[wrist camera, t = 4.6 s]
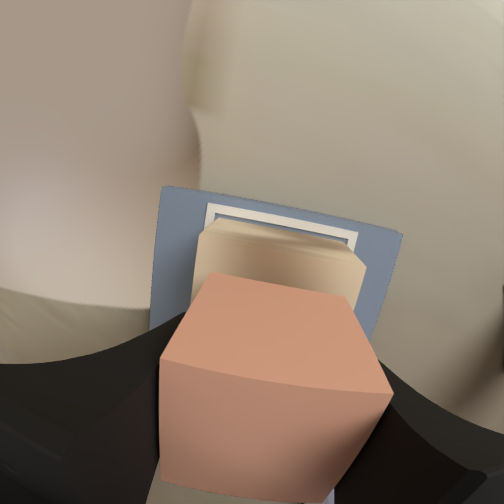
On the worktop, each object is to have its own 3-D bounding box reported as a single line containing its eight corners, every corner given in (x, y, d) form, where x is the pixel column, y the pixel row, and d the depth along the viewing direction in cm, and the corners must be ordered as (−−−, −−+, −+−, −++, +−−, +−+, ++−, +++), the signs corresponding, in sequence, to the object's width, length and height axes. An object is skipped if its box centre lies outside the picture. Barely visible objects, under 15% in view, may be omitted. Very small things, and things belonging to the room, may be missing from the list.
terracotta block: (345, 296, 10) (393, 393, 5) (310, 398, 11) (322, 503, 6) (210, 271, 10) (160, 357, 5) (197, 378, 11) (161, 480, 6)
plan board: (395, 230, 15) (403, 235, 14) (307, 458, 20) (308, 468, 19) (168, 185, 15) (161, 186, 14) (154, 431, 20) (150, 440, 19)
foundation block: (343, 241, 14) (366, 266, 11) (312, 349, 16) (321, 396, 12) (218, 217, 15) (199, 234, 11) (202, 328, 16) (183, 372, 12)
